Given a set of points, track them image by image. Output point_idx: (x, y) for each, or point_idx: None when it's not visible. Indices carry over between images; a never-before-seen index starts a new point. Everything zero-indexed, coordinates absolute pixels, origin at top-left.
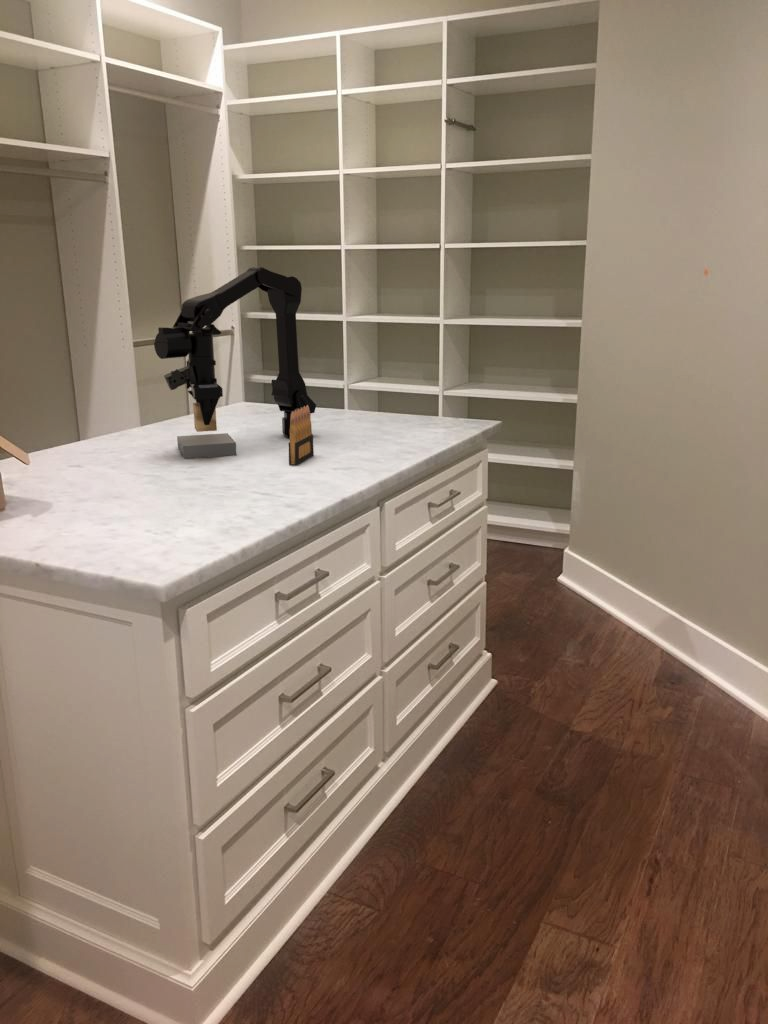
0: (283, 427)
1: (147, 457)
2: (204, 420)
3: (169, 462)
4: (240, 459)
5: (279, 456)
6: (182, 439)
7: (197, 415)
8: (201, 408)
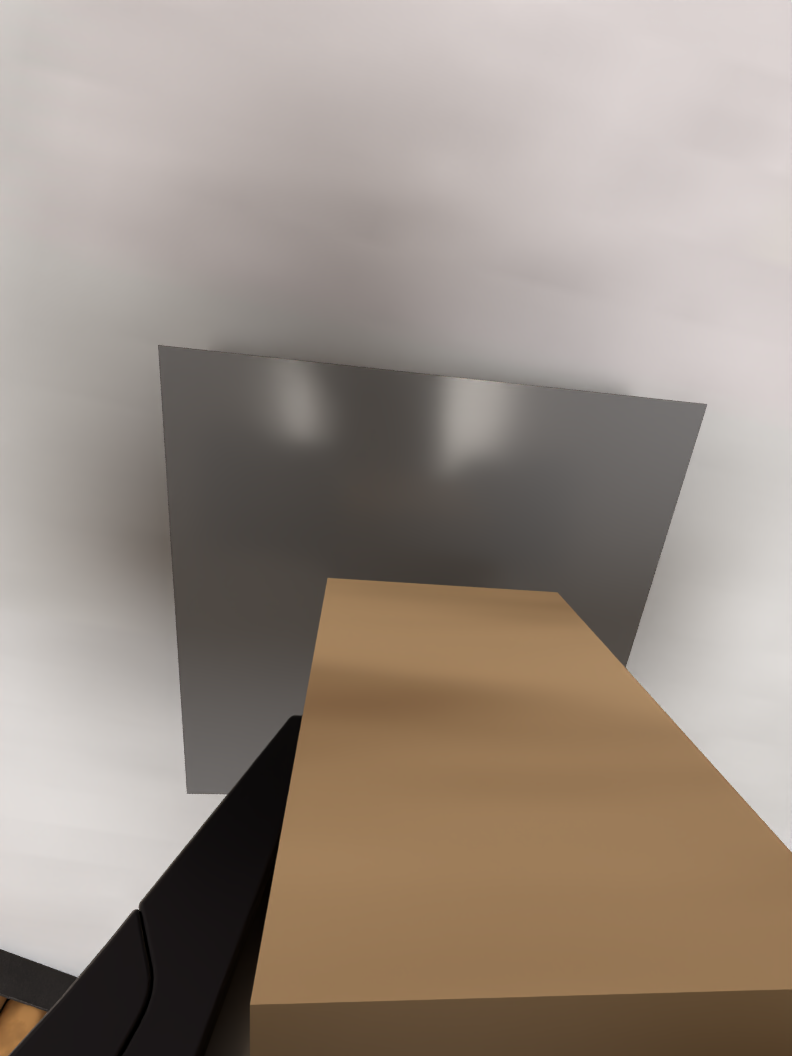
0: None
1: (408, 7)
2: (260, 765)
3: (102, 188)
4: (85, 715)
5: (116, 895)
6: (517, 420)
7: (297, 750)
8: (35, 1033)
